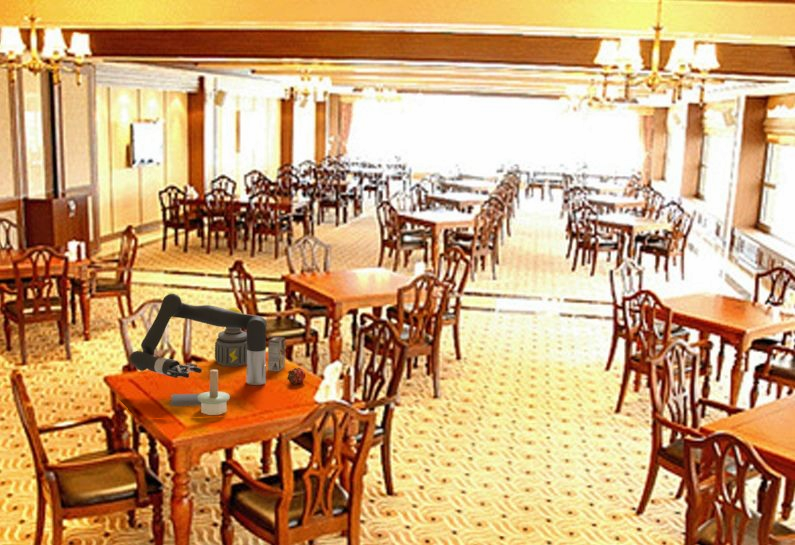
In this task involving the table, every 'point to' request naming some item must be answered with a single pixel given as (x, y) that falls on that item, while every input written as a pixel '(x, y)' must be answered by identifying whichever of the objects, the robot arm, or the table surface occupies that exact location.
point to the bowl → (213, 408)
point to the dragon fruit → (296, 376)
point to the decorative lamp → (231, 346)
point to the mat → (185, 400)
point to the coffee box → (276, 353)
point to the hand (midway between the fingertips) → (194, 373)
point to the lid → (213, 391)
